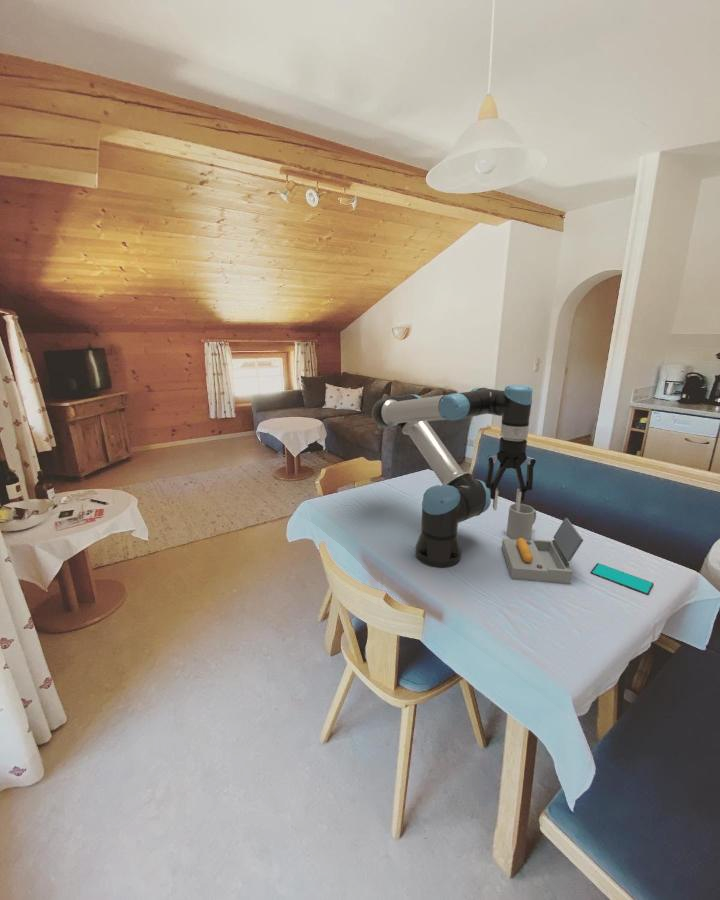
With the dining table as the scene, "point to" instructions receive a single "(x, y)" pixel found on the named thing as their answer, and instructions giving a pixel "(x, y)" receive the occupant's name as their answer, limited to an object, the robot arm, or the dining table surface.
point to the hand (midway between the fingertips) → (505, 509)
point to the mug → (521, 522)
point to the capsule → (524, 550)
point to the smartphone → (622, 578)
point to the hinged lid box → (536, 562)
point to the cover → (567, 541)
